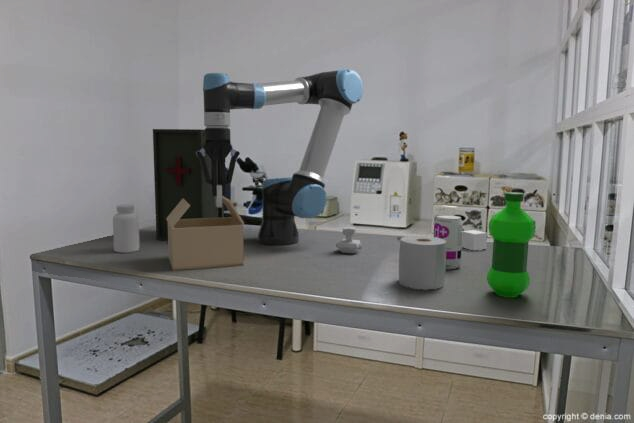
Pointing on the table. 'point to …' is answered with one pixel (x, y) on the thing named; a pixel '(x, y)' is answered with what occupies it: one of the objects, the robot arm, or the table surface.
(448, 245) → the supplement can
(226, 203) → the flap
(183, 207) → the flap
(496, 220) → the plastic bottle
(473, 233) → the white cube
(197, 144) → the first aid box
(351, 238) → the stamp
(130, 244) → the pill bottle
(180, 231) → the carton
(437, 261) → the toilet paper roll
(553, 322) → the table surface
